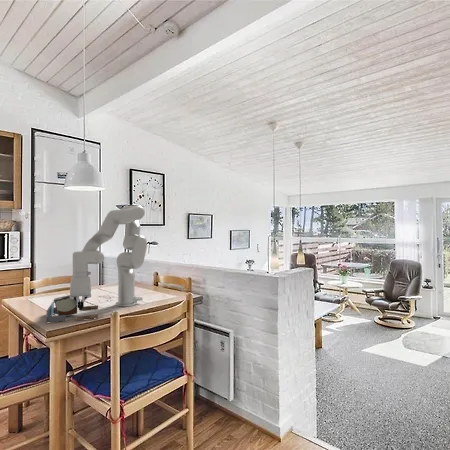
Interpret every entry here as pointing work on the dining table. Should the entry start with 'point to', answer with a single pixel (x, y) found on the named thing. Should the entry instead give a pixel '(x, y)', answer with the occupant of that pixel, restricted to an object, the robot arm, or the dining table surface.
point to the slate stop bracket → (54, 318)
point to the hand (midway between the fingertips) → (80, 309)
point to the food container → (65, 305)
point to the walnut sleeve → (87, 315)
